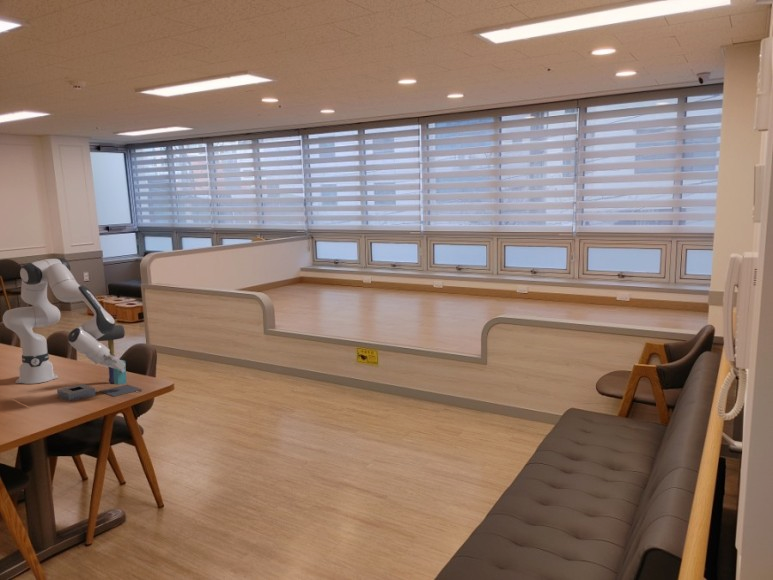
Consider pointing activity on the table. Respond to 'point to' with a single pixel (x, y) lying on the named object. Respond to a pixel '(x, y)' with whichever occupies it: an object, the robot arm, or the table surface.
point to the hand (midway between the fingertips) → (121, 370)
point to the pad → (120, 390)
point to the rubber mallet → (112, 344)
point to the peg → (120, 376)
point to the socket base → (76, 392)
